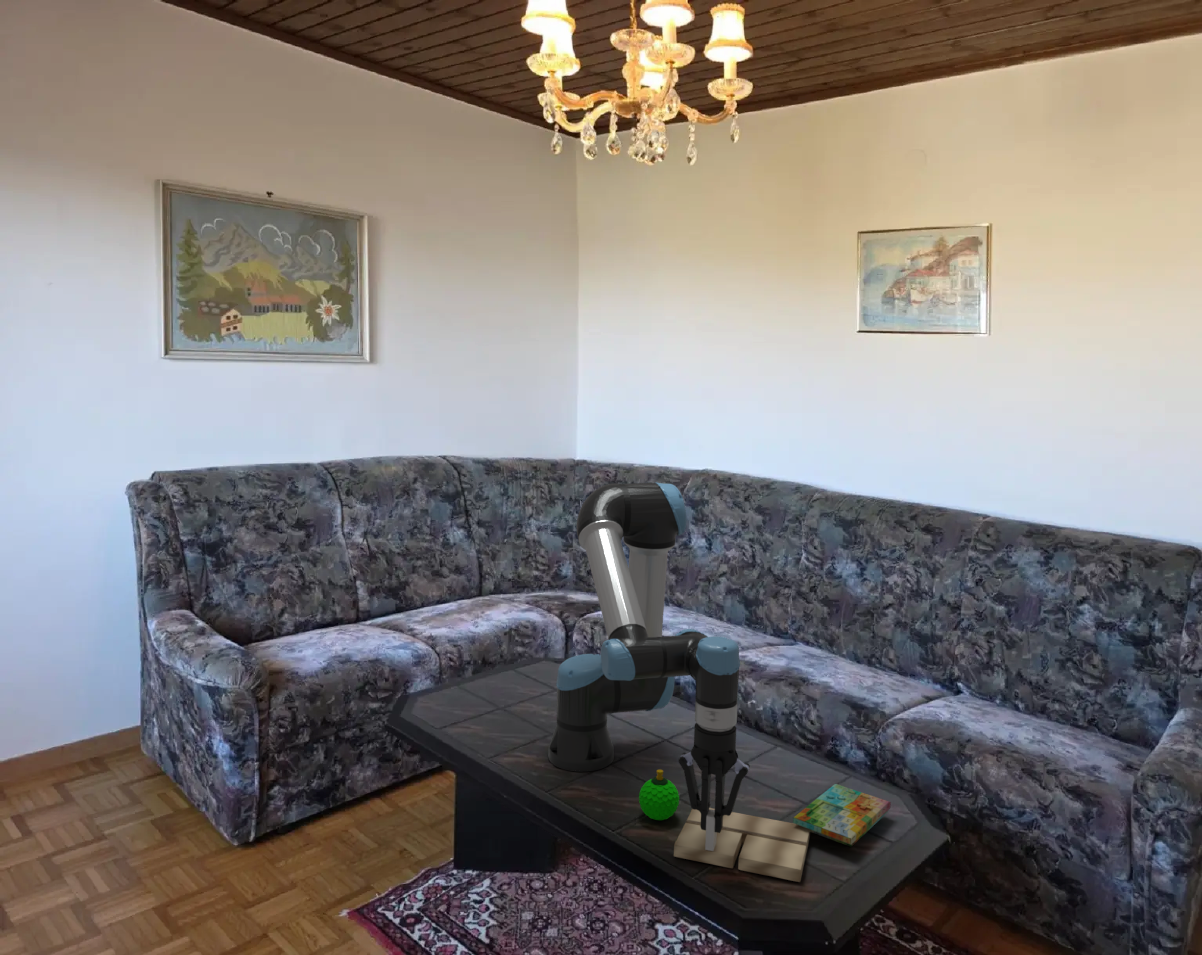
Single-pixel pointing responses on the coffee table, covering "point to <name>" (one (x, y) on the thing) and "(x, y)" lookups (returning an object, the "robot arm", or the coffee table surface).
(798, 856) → the plank
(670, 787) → the ornament
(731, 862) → the plank
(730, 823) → the laid board
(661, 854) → the coffee table surface
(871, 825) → the puzzle game
